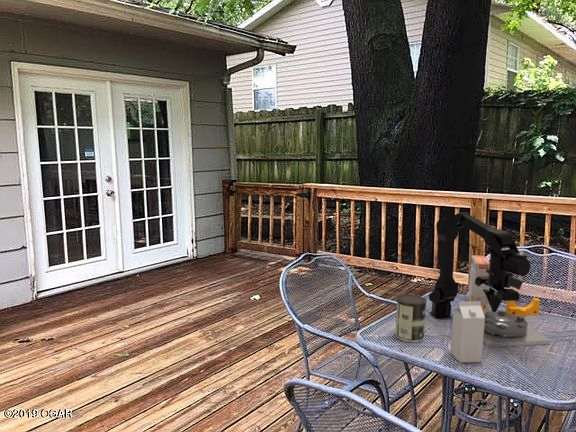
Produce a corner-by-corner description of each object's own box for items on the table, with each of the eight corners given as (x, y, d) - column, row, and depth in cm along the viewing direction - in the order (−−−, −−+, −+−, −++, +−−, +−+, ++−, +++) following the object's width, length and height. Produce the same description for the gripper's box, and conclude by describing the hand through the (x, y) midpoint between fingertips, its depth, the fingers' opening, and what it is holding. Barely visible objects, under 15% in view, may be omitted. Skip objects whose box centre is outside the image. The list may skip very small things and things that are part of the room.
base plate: (488, 347, 162) (489, 334, 162) (456, 321, 185) (457, 310, 184) (550, 344, 165) (551, 332, 164) (511, 319, 188) (512, 308, 187)
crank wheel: (509, 318, 184) (511, 295, 182) (537, 336, 167) (539, 311, 166) (467, 319, 182) (469, 296, 180) (492, 338, 165) (494, 313, 164)
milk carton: (450, 353, 158) (454, 298, 155) (471, 352, 158) (475, 297, 155) (459, 363, 151) (464, 306, 148) (481, 362, 151) (486, 305, 148)
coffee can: (423, 332, 175) (425, 295, 172) (425, 343, 165) (427, 305, 162) (394, 329, 177) (396, 293, 174) (395, 341, 167) (396, 302, 164)
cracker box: (487, 313, 194) (491, 263, 190) (471, 312, 195) (475, 262, 192) (482, 302, 207) (485, 255, 204) (467, 300, 208) (471, 254, 205)
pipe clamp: (509, 316, 191) (511, 301, 190) (505, 312, 196) (507, 297, 194) (540, 317, 191) (542, 302, 189) (535, 313, 195) (537, 298, 194)
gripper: (537, 275, 155) (532, 321, 157) (504, 260, 173) (500, 301, 176) (505, 276, 153) (501, 322, 156) (475, 261, 172) (472, 302, 174)
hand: (494, 311), depth 165 cm, fingers closed
